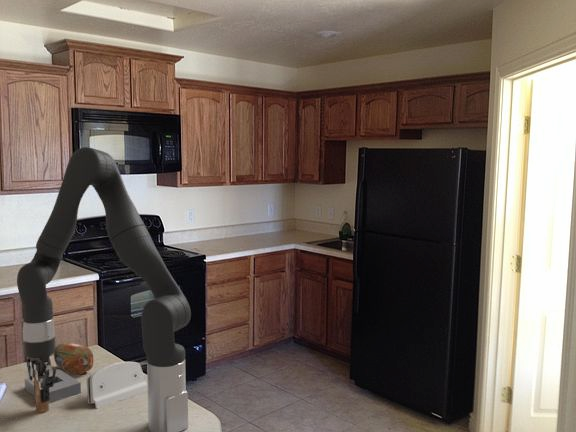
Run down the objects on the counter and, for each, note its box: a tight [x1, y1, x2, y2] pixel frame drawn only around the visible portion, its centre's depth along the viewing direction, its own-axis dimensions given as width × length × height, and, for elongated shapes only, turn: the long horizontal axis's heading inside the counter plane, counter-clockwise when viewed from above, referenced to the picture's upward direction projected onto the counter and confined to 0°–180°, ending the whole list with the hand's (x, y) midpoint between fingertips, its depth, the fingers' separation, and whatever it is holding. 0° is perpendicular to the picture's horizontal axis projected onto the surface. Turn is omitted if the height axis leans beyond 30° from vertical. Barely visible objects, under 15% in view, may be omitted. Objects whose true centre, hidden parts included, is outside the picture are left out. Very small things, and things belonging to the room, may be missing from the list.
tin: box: [53, 342, 94, 375], centre depth 167 cm, size 15×3×8 cm, turn 64°
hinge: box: [86, 361, 148, 409], centre depth 150 cm, size 17×5×10 cm, turn 136°
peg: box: [35, 374, 50, 414], centre depth 140 cm, size 3×3×10 cm
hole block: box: [24, 368, 82, 404], centre depth 152 cm, size 14×10×3 cm
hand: (42, 399), depth 140 cm, fingers closed on peg, 3 cm apart
